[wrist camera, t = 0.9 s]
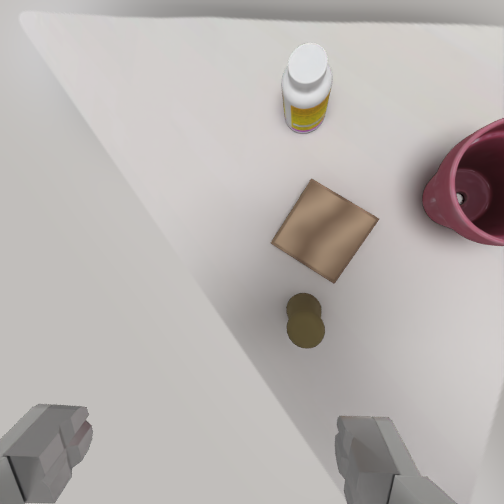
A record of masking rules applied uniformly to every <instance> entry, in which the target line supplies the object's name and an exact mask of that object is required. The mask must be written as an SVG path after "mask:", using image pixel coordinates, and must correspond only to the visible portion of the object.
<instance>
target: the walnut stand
mask: <svg viewBox="0 0 504 504" xmlns="http://www.w3.org/2000/svg"><path fill="white" fill-rule="evenodd" d="M378 220H379V218H377V217H375V216H374V215H372V214H370V213H369V212H367V211H365V210H364V209H362V208H360V207H359V206H357V205H355V204H353V203H352V202H350V201H348V200H347V199H345V198H343V197H342V196H340V195H338V194H337V193H335V192H333V191H332V190H330V189H328V188H327V187H325V186H323V185H321V184H320V183H318V182H316V181H315V180H313V179H311V180H310V182H309V183H308V185H307V187H306V188H305V190H304V191H303V193H302V194H301V196H300V198H299V199H298V201H297V202H296V204H295V205H294V207H293V209H292V210H291V212H290V213H289V215H288V216H287V218H286V220H285V221H284V223H283V224H282V226H281V227H280V229H279V231H278V232H277V234H276V235H275V237H274V238H273V240H272V242H271V244H273V245H274V246H276V247H277V248H279V249H281V250H282V251H284V252H285V253H287V254H288V255H290V256H292V257H293V258H295V259H296V260H298V261H299V262H301V263H302V264H304V265H306V266H307V267H309V268H310V269H312V270H313V271H315V272H317V273H318V274H320V275H321V276H323V277H324V278H326V279H327V280H329V281H331V282H332V283H335V282H336V280H337V279H338V278H339V276H340V275H341V273H342V272H343V270H344V269H345V268H346V266H347V265H348V263H349V262H350V260H351V259H352V258H353V256H354V255H355V253H356V252H357V250H358V249H359V248H360V246H361V245H362V243H363V242H364V240H365V239H366V237H367V236H368V235H369V233H370V232H371V230H372V229H373V227H374V226H375V225H376V223H377V222H378Z"/></svg>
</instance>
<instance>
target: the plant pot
mask: <svg viewBox="0 0 504 504" xmlns="http://www.w3.org/2000/svg"><path fill="white" fill-rule="evenodd" d="M456 193H460V194H462V195H463V196H464V202H463V203H462V204H461V205H459V202H458V199H457V196H456ZM422 198H423V199H422V201H423V207H424V210H425V212H426V213H427V215H428V216H429V217H430V218H431V219H432V220H433V221H434V222H436V223H438V224H440V225H443V226H446V227H448V228H451V229H453V230H454V231H456V232H457V233H458V234H460V235H461V236H463V237H465V238H467V239H469V240H471V241H474V242H477V243H481V244H486V245H494V246H504V118H502V119H500V120H497V121H495V122H493V123H491V124H489V125H487V126H485V127H483V128H481V129H479V130H478V131H476V132H474V133H473V134H471V135H469V136H468V137H466V138H465V139H463V140H462V141H461V142H459V143H458V144H457V145H456V146H455V147H453V149H452V150H451V151H450V152H449V153H448V154H447V155H446V157H445V158H444V160H443V161H442V163H441V165H440V167H439V169H438V172H437V173H436V174H435V175H434V176H433V178H432V179H431V180H430V181H429V182H428V184H427V185H426V187H425V189H424V192H423V197H422Z"/></svg>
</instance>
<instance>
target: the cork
mask: <svg viewBox="0 0 504 504" xmlns="http://www.w3.org/2000/svg"><path fill="white" fill-rule="evenodd" d="M286 308H287V315H288V318H289V320H288V323H287V333H288V336H289V338H290V340H291V341H292V342H293V343H294V344H295V345H297V346H298V347H301V348H312V347H315V346H317V345H318V344H320V342H321V341H322V339H323V337H324V334H325V326H324V324H323V321H322V319H321V305H320V303H319V301H318V300H317V299H316V298H315V297H314V296H312V295H310V294H307V293H299V294H296V295H294V296H293V297H292V298H291V299H290V300H289V302H288V304H287V307H286Z"/></svg>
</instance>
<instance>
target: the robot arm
mask: <svg viewBox="0 0 504 504" xmlns="http://www.w3.org/2000/svg"><path fill="white" fill-rule="evenodd" d="M88 416H89V413H88V410H87V407H82V406H68V405H67V406H66V405H49V404H38V405H36V406H34V407H32V408H31V409H30V410H29V411H28V412H27V413H26V414H25V415H24V416H23V417H22V418H21V419H20V420H19V421H18V422H17V423H16V424H15V425H14V426H13V427H12V428H11V429H10V430H9V431H8V432H7V433H6V434H5V435H4V436H3V437H2V438H1V439H0V504H25V503H55V502H56V500H57V499H58V497H59V496H60V494H61V493H62V491H63V489H64V488H65V486H66V485H67V483H68V482H69V480H70V479H71V477H72V468H73V467H74V466H76V465H77V464H78V463H79V462H81V461H82V460H83V458H84V456H85V455H86V453H87V451H88V450H89V447H90V444H91V441H92V436H93V435H92V434H93V430H92V426H91V425H90V424H89V423H88V422H87V421H86V419H87V417H88ZM337 427H338V431H339V433H338V434H337V435H336V436H335V455H336V460H337V465H338V469H339V473H340V474H341V475H342V476H343V478H344V479H345V485H344V493H345V497H346V501H347V504H457V503H456V502H455V501H454V500H453V499H451V498H450V497H449V496H448V495H447V494H446V493H445V492H444V491H443V490H441V489H440V488H439V487H438V486H437V485H436V484H435V483H434V482H433V481H431V480H430V479H429V478H428V477H425V476H421V474H420V472H419V471H418V469H417V467H416V465H415V463H414V461H413V459H412V457H411V455H410V454H409V452H408V450H407V448H406V446H405V444H404V442H403V440H402V438H401V437H400V435H399V433H398V431H397V429H396V427H395V425H394V423H393V422H392V420H391V419H390V418H389V417H370V416H339V417H338V420H337Z"/></svg>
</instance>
